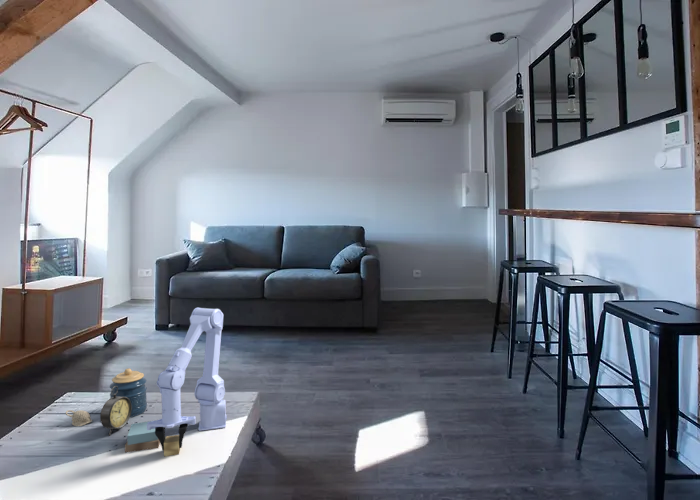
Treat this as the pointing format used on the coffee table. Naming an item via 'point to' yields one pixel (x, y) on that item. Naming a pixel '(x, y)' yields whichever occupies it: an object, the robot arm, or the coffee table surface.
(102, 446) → the coffee table surface
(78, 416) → the decorative ornament
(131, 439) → the tower top
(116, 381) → the canister
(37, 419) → the coffee table surface
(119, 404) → the alarm clock
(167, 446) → the ochre cube
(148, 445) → the tower base
